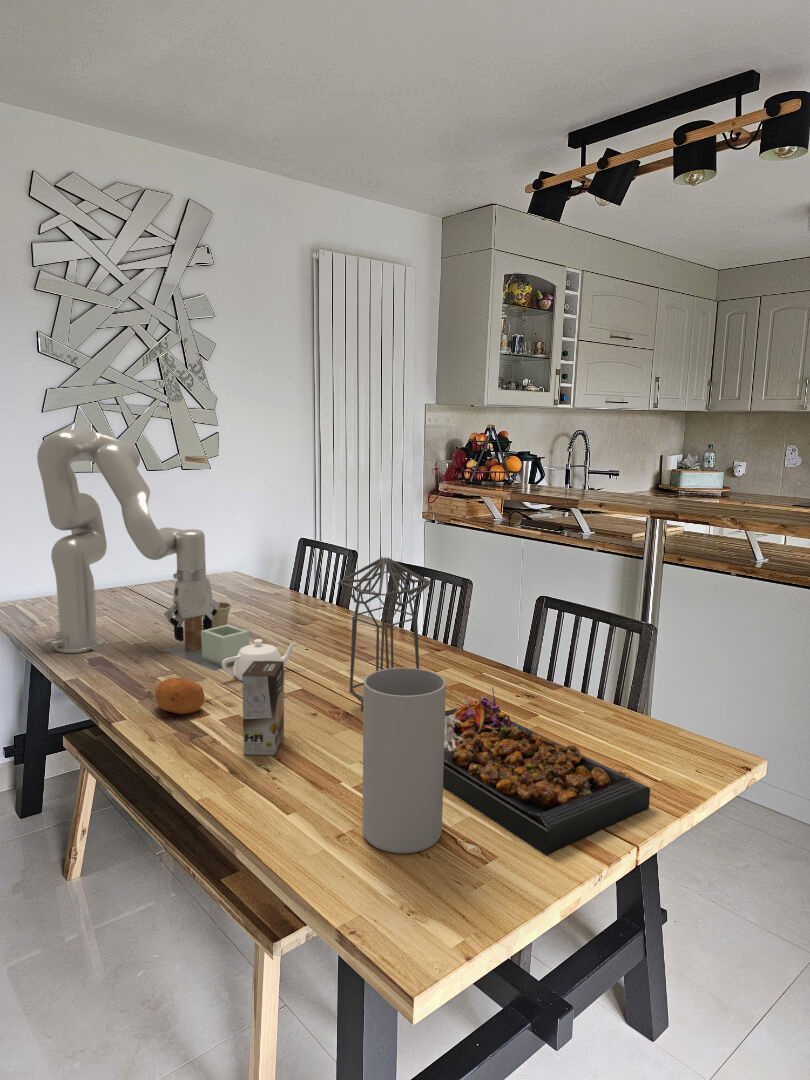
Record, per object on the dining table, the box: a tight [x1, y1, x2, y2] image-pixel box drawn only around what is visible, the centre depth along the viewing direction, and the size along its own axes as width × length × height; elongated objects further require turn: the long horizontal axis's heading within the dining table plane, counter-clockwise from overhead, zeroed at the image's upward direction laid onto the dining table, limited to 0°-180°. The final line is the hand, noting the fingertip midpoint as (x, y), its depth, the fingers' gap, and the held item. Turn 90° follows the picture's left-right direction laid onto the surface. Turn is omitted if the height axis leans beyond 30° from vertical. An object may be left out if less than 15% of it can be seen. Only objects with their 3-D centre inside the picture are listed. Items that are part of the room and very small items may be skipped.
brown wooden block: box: [183, 616, 203, 650], centre depth 204 cm, size 3×4×10 cm
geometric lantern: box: [337, 556, 431, 711], centre depth 163 cm, size 16×16×35 cm
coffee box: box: [241, 661, 285, 756], centre depth 146 cm, size 9×6×16 cm
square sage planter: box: [201, 624, 251, 668], centre depth 194 cm, size 8×9×8 cm
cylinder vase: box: [361, 667, 447, 855], centre depth 114 cm, size 12×12×25 cm
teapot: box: [222, 638, 297, 682], centre depth 183 cm, size 20×12×10 cm, turn 125°
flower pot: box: [202, 601, 232, 628], centre depth 221 cm, size 9×9×9 cm
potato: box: [154, 677, 205, 715], centre depth 163 cm, size 9×11×8 cm
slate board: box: [163, 644, 233, 672], centre depth 200 cm, size 14×24×1 cm, turn 49°
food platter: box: [443, 687, 651, 857], centre depth 135 cm, size 45×25×10 cm, turn 35°
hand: (193, 636), depth 204 cm, fingers open, 8 cm apart
